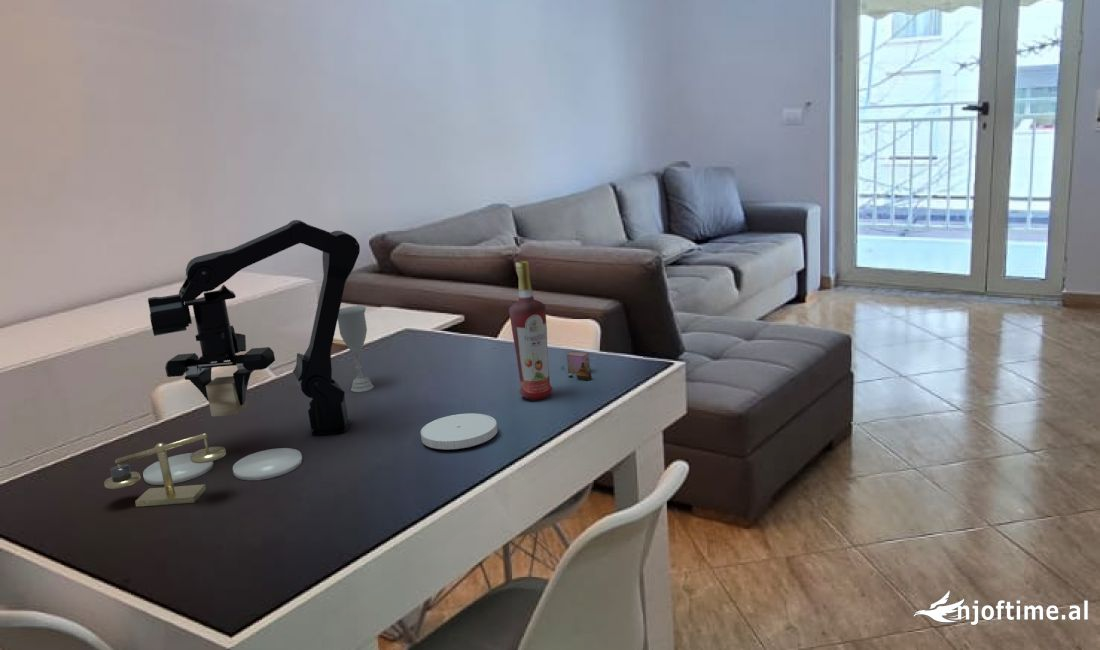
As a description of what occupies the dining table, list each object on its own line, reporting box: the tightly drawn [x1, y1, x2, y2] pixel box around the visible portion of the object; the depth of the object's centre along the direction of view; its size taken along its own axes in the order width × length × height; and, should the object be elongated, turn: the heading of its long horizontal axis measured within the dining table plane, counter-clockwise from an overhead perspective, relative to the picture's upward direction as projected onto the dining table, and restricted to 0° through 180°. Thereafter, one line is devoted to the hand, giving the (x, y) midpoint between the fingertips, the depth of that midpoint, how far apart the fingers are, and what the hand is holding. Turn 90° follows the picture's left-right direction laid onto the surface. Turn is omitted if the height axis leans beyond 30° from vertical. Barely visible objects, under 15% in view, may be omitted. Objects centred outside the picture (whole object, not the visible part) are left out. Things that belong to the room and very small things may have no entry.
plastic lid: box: [420, 413, 498, 450], centre depth 171 cm, size 14×14×2 cm
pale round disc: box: [142, 452, 215, 486], centre depth 169 cm, size 12×12×1 cm
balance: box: [103, 433, 227, 507], centre depth 156 cm, size 21×6×11 cm, turn 87°
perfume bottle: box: [566, 351, 592, 381], centre depth 201 cm, size 12×12×4 cm
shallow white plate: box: [232, 447, 303, 482], centre depth 167 cm, size 12×12×1 cm
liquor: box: [508, 260, 554, 401], centre depth 186 cm, size 7×7×28 cm
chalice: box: [337, 305, 374, 393], centre depth 205 cm, size 7×7×18 cm
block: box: [206, 375, 248, 417], centre depth 173 cm, size 5×5×6 cm
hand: (228, 405), depth 174 cm, fingers closed on block, 5 cm apart
